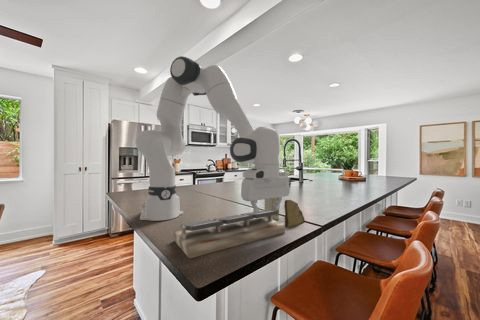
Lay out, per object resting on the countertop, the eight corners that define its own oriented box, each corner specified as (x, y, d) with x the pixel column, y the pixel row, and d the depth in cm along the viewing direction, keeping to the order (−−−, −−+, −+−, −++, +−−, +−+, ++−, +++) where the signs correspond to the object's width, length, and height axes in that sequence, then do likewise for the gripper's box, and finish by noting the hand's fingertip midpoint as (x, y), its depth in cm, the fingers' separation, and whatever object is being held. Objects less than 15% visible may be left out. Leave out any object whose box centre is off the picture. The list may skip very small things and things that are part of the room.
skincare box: (272, 221, 88) (272, 193, 87) (263, 219, 90) (264, 192, 90) (279, 218, 93) (279, 191, 93) (271, 216, 95) (271, 190, 95)
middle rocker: (213, 222, 72) (213, 218, 72) (237, 218, 77) (237, 214, 77) (227, 224, 64) (227, 219, 64) (253, 219, 69) (252, 215, 69)
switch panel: (174, 241, 66) (174, 221, 66) (260, 222, 86) (260, 206, 86) (189, 258, 55) (189, 234, 55) (284, 232, 75) (284, 214, 75)
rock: (300, 213, 92) (279, 210, 91) (308, 200, 87) (285, 197, 86) (307, 234, 84) (283, 232, 83) (315, 222, 79) (290, 219, 78)
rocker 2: (240, 217, 78) (240, 214, 78) (261, 213, 84) (260, 210, 84) (256, 218, 70) (256, 214, 70) (278, 214, 76) (277, 210, 76)
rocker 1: (181, 228, 65) (180, 224, 66) (209, 223, 71) (209, 219, 71) (192, 231, 57) (191, 226, 57) (223, 224, 63) (223, 220, 63)
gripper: (281, 171, 82) (281, 205, 82) (238, 172, 70) (238, 213, 70) (293, 171, 76) (293, 208, 76) (249, 173, 65) (249, 217, 65)
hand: (266, 210), depth 73 cm, fingers open, 8 cm apart
